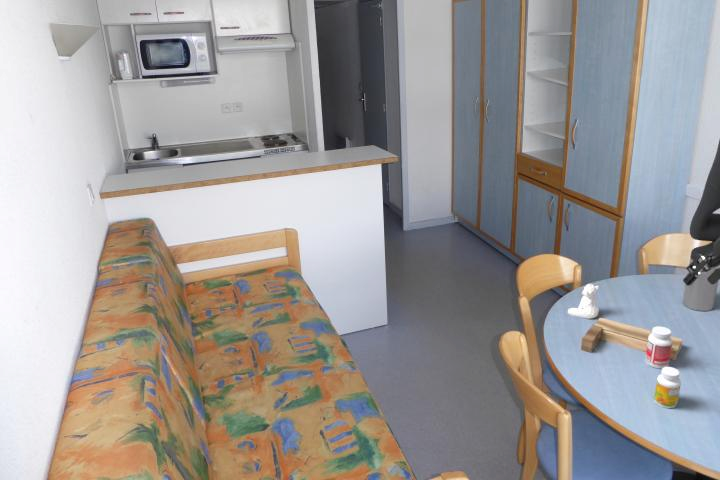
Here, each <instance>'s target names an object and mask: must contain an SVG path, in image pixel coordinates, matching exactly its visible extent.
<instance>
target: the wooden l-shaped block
mask: <svg viewBox="0 0 720 480" xmlns="http://www.w3.org/2000/svg"><path fill="white" fill-rule="evenodd" d="M650 334H652V330H648V329H645V328H641V327H638V326H633V325H629V324H627V323H626V324H625V323H622V322H619V321H615V320H611V319H607V318H603V317H599V318H598V320H597V321H596V323H595V324H591V327H590V328H589V329H587V331H586V333H585V334H584V335H583V336H582V338H581V344H580V345H581V346H580V350H581V351H582V352H583V351H584V352H588V353H590V354H591V353H592V352H594V350H595V348H596V347H597V346H598V344H599V343H600V341H601V340H603V341H606V342H609V343H614V344H617V345H621V346H623V347H628V348H631V349H635V350H638V351H642V352H645V353H646V349H647V342H648V337H649V335H650ZM670 338H671V339H672V348H671V354H670V360H674V361H676V360H677V358H678V355H679V354H680V351H681V349H682V345H683V339H682V338H678V337H675V336H672V335H671V336H670Z"/></svg>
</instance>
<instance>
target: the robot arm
mask: <svg viewBox="0 0 720 480" xmlns="http://www.w3.org/2000/svg"><path fill="white" fill-rule="evenodd" d="M715 152H716V153H715V156H714V160H713V162H712V165H711V167H710V169H709V172H708V175H707V178H706V181H705V185H704V189H703V191H702V195H701V198H700V201H699V202H698V203H699V204H698V206H697V208H696V210H695V212H694V214H693V216H692V218H691V221H690V225H689V233H690V237H691V239H693V240H696V241H702V242H709V243H707V244H705V245H701V246H697V247H694V248H692V250H691V252H690V259H689V264H688V266H686V267H685V268H686V270H687V275H685V277H684V278H683V280H682V281H683V283H684V284H685V285H684V291H683V297H682V305H683V306H685V307H686V308H687V309H690V310H694V311H699V312H709V311H711V310H713V309H714V307H715V306H714V305H715V301H716V297H717V296H716V295H717V290H718V287H719V286H718V285H719V280H720V213H715V212H716V211H717V210H719V209H720V139H719V141H718V145H717V148H716V151H715Z"/></svg>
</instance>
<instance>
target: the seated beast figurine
mask: <svg viewBox="0 0 720 480" xmlns="http://www.w3.org/2000/svg"><path fill="white" fill-rule="evenodd" d="M599 289H600V286H599V285H594V284H593V283H587V284H586V285H585V286H584V287H583V290H582V292H581V295H582V297H581V300H580V301H579V302H580V303H579V305H578V307H572V308H571V307H570V308H568V310H567V315H569V316H572V317H577V318H582V319H587V320H592V319H594V318H596V317H597V316H598V315H599V312H600V311H599V308H598V305H597V301H596V297H595V295H596V294H597V291H599Z"/></svg>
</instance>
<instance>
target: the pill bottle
mask: <svg viewBox="0 0 720 480" xmlns="http://www.w3.org/2000/svg"><path fill="white" fill-rule="evenodd" d="M651 331H652V334H650V335H649V337H648V342H647V349H646V352H645V357H644V362H645V363H646V364H647V365H648V366H650V367H652V368H656V369H660V370H662V368H664V367H669V364H670V360H671V359H670V354H671V348H672V339H671V338H670V336H672V331H671V330H670V328H668V327H665V326H659V325H657V326H654V327H652V330H651Z"/></svg>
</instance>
